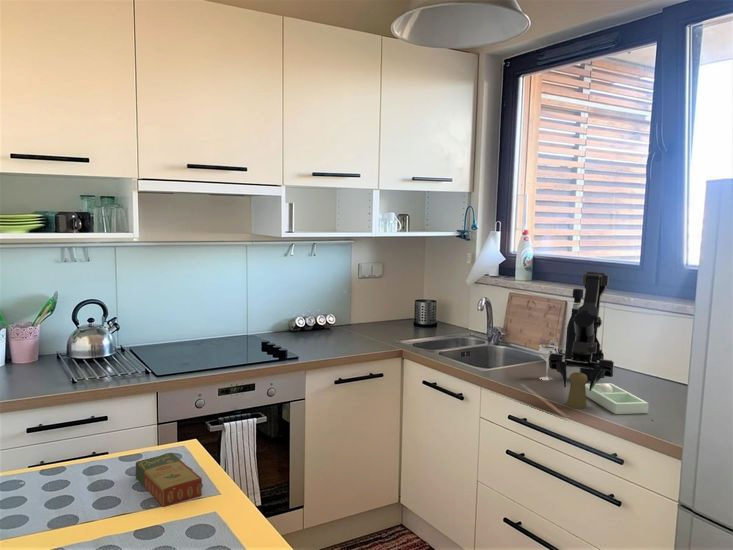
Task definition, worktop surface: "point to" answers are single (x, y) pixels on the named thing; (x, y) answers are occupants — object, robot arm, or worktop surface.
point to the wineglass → (547, 355)
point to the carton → (168, 479)
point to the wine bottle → (571, 328)
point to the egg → (605, 388)
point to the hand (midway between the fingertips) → (577, 388)
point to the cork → (577, 390)
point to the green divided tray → (617, 400)
